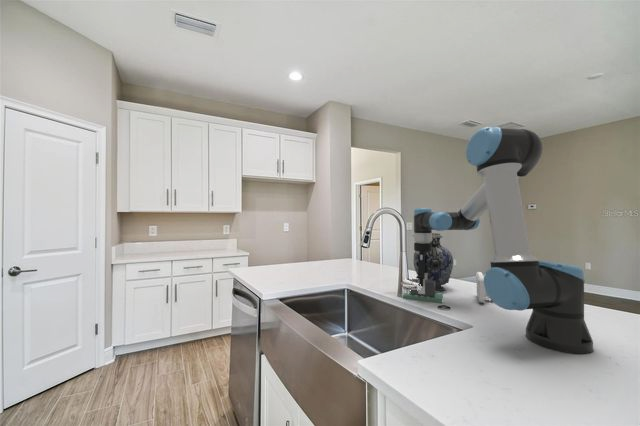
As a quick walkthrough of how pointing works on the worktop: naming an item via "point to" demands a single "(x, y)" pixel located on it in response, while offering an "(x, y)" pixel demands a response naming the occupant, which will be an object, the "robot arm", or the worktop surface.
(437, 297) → the header board
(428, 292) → the plug housing
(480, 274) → the cable organizer
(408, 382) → the worktop surface
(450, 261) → the decorative vase
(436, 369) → the worktop surface
